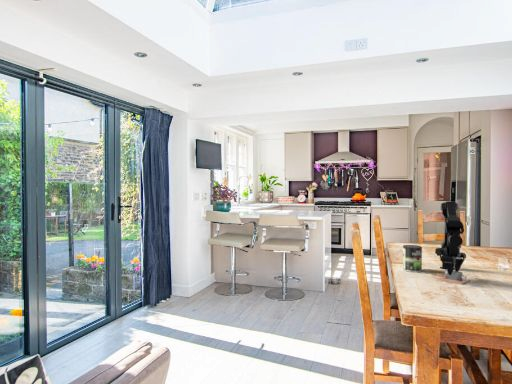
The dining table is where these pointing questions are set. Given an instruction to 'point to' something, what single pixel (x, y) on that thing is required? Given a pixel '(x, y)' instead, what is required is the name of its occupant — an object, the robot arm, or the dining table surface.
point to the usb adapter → (455, 276)
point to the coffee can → (412, 258)
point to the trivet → (453, 280)
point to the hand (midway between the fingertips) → (453, 273)
